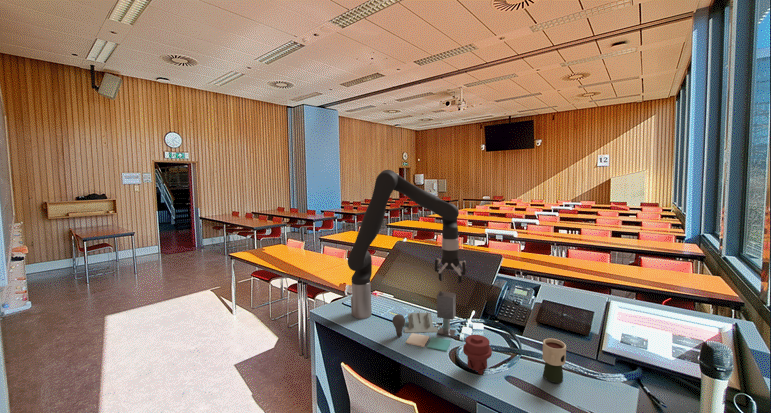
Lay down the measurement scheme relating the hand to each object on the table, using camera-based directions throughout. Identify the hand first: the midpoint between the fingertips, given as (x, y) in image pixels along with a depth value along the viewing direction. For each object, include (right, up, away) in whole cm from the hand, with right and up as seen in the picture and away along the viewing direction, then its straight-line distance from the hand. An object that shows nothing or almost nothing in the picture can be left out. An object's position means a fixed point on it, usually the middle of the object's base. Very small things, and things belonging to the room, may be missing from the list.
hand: (450, 281), depth 155 cm
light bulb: (-24, -22, -8) cm, 34 cm away
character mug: (+28, -25, -39) cm, 54 cm away
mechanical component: (+4, -25, -32) cm, 41 cm away
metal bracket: (-14, -21, +1) cm, 25 cm away
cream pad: (-16, -22, -11) cm, 30 cm away
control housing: (-3, -21, -6) cm, 22 cm away
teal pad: (-7, -23, -15) cm, 28 cm away
